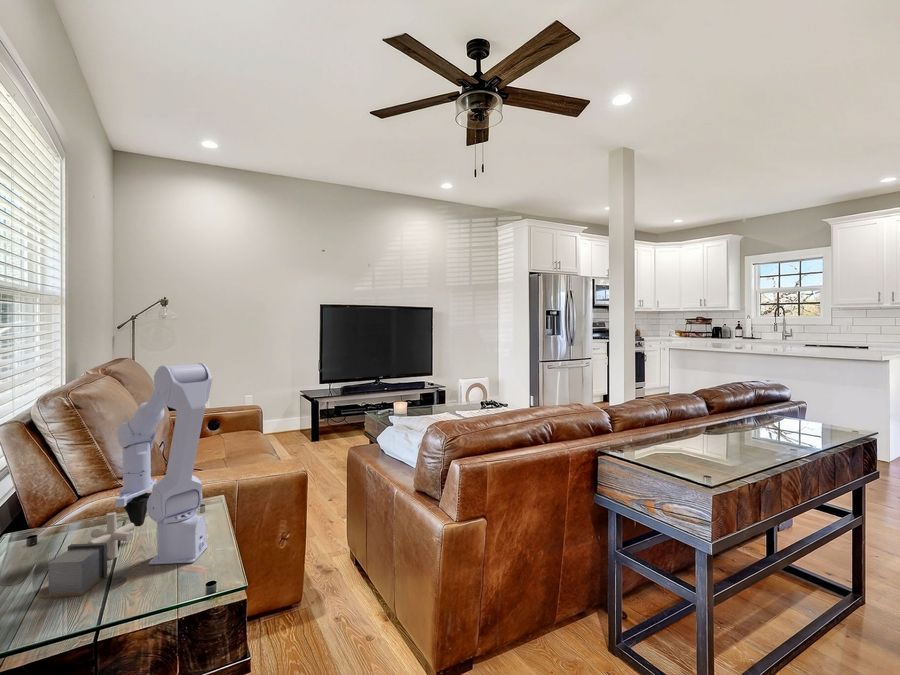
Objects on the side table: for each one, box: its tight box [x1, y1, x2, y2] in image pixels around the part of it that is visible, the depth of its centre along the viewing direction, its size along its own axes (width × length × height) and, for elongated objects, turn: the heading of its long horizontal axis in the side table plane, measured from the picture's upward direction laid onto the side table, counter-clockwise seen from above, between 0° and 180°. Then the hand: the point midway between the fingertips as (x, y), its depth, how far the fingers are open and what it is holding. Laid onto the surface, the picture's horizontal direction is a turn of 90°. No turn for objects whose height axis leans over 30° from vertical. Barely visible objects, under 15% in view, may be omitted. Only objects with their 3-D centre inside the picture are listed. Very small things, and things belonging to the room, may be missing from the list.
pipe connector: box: [87, 511, 136, 560], centre depth 107 cm, size 10×10×10 cm
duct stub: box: [47, 543, 108, 598], centre depth 95 cm, size 7×7×7 cm
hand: (137, 525), depth 116 cm, fingers closed
